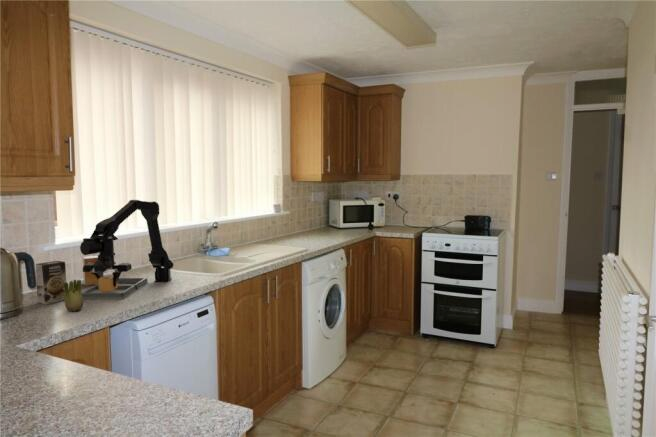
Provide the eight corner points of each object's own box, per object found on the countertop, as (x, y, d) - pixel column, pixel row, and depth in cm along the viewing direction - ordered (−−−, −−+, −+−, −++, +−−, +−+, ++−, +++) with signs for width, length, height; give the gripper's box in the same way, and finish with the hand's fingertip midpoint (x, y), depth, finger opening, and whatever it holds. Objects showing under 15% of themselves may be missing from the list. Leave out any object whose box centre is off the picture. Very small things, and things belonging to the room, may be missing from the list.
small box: (85, 286, 220) (83, 258, 219) (83, 283, 225) (82, 256, 224) (104, 283, 225) (103, 256, 223) (102, 281, 230) (100, 254, 229)
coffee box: (45, 304, 190) (42, 265, 188) (37, 302, 193) (34, 263, 191) (67, 299, 197) (65, 261, 196) (59, 297, 201) (57, 260, 199)
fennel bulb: (64, 313, 179) (62, 281, 177) (68, 309, 183) (66, 279, 182) (81, 312, 180) (79, 281, 179) (84, 308, 185) (83, 278, 183)
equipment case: (147, 282, 227) (147, 277, 226) (136, 290, 213) (136, 284, 213) (109, 283, 226) (109, 277, 226) (96, 290, 212) (95, 284, 212)
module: (117, 287, 208) (117, 274, 207) (110, 291, 201) (110, 277, 200) (106, 287, 208) (105, 274, 207) (99, 291, 201) (98, 278, 200)
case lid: (136, 290, 213) (136, 284, 213) (123, 299, 198) (122, 293, 198) (96, 290, 212) (95, 284, 212) (79, 299, 197) (79, 293, 197)
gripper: (75, 254, 194) (77, 292, 196) (120, 254, 195) (122, 291, 197) (88, 250, 206) (89, 285, 207) (131, 250, 206) (132, 285, 208)
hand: (108, 287), depth 204 cm, fingers closed on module, 5 cm apart
